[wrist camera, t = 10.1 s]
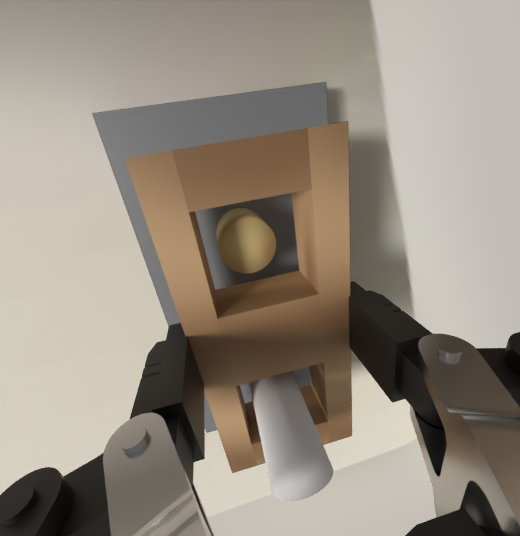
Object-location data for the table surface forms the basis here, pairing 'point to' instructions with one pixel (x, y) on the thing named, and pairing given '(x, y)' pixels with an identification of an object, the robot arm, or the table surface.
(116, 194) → the table surface
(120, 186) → the base
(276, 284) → the holed bar
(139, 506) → the robot arm
